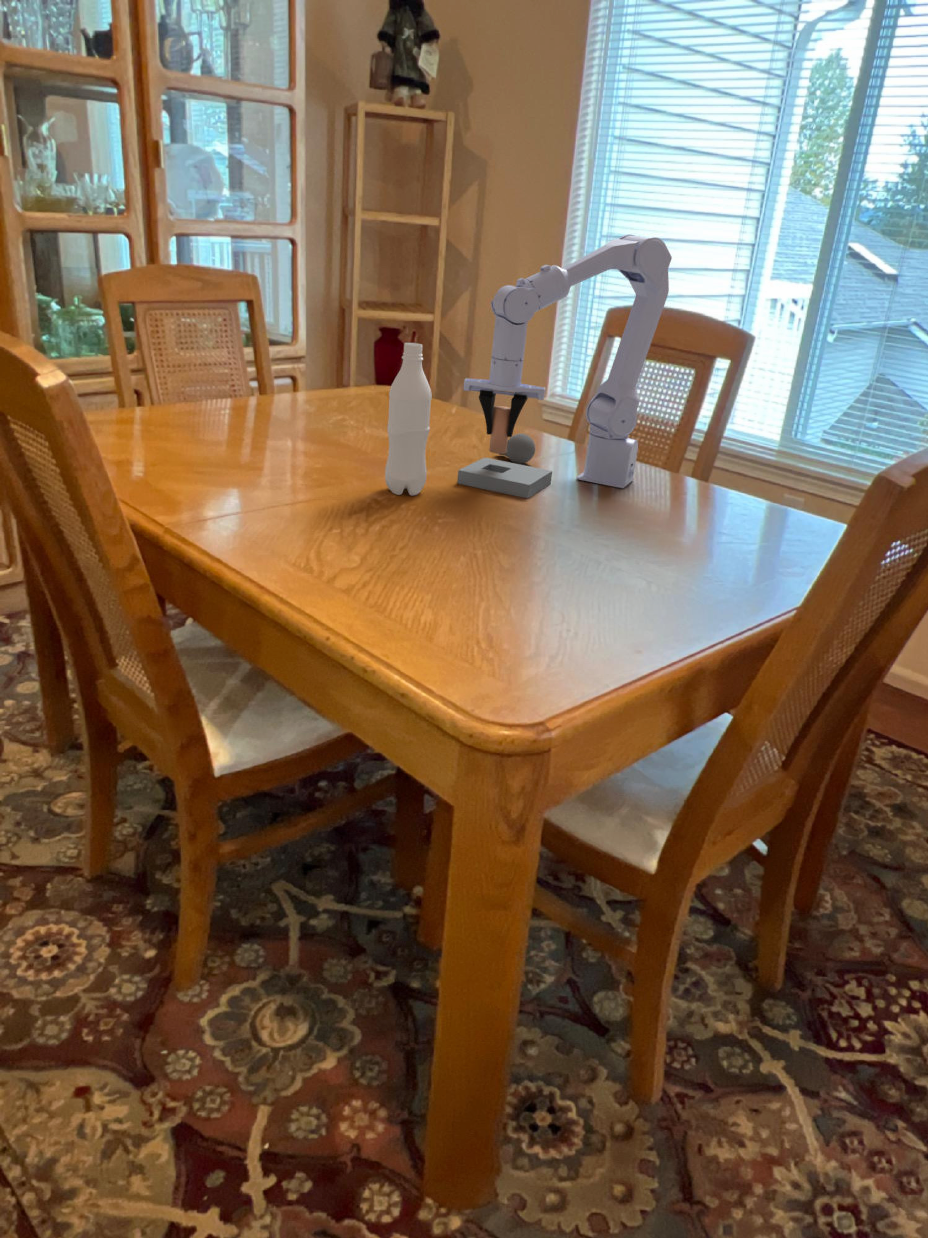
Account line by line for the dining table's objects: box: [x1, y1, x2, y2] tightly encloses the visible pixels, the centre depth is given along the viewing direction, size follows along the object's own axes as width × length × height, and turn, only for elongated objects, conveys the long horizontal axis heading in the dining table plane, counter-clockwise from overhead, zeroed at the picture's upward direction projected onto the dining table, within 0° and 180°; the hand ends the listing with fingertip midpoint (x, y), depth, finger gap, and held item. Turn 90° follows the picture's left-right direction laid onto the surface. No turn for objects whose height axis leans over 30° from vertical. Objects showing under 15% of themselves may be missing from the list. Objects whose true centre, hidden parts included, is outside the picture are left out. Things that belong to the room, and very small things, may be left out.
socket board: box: [456, 457, 553, 499], centre depth 165 cm, size 14×12×2 cm
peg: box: [488, 405, 511, 455], centre depth 162 cm, size 3×3×8 cm
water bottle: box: [384, 342, 433, 497], centre depth 150 cm, size 7×7×25 cm
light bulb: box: [498, 433, 536, 465], centre depth 181 cm, size 6×6×10 cm
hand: (499, 434), depth 163 cm, fingers closed on peg, 3 cm apart
